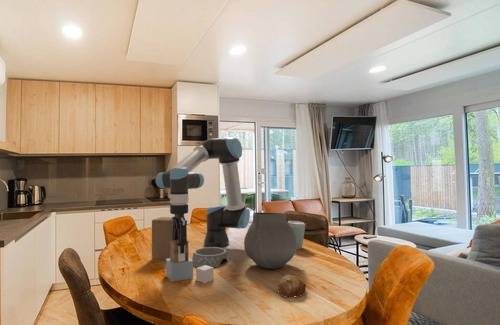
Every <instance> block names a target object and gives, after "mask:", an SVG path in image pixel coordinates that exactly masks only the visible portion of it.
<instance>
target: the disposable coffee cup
mask: <svg viewBox="0 0 500 325" xmlns="http://www.w3.org/2000/svg"><path fill="white" fill-rule="evenodd" d="M287 222H288V224H289V225H290V226H291V228H292V230H293V232H294V234H295V238H296V243H297V249H296V250H301V249H303V245H304V237H305V229H306V228H305V227H306V223H304V222H302V221H298V220H288V221H287Z"/></svg>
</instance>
